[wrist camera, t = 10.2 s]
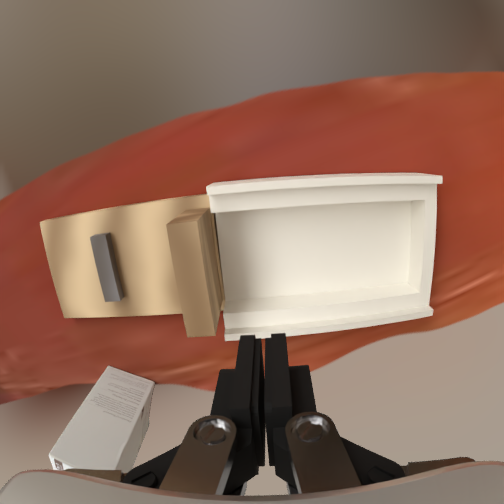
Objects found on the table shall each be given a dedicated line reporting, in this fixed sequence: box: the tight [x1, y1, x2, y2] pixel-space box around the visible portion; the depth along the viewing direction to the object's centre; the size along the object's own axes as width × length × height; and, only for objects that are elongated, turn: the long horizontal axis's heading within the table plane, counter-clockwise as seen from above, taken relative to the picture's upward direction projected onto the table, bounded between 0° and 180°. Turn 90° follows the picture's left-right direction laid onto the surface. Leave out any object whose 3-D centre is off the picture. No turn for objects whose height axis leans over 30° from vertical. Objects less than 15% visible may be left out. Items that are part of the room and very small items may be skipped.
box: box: [206, 173, 442, 341], centre depth 25 cm, size 18×12×4 cm, turn 95°
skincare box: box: [49, 366, 155, 473], centre depth 25 cm, size 8×6×15 cm
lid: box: [40, 194, 225, 337], centre depth 24 cm, size 17×10×8 cm, turn 96°
